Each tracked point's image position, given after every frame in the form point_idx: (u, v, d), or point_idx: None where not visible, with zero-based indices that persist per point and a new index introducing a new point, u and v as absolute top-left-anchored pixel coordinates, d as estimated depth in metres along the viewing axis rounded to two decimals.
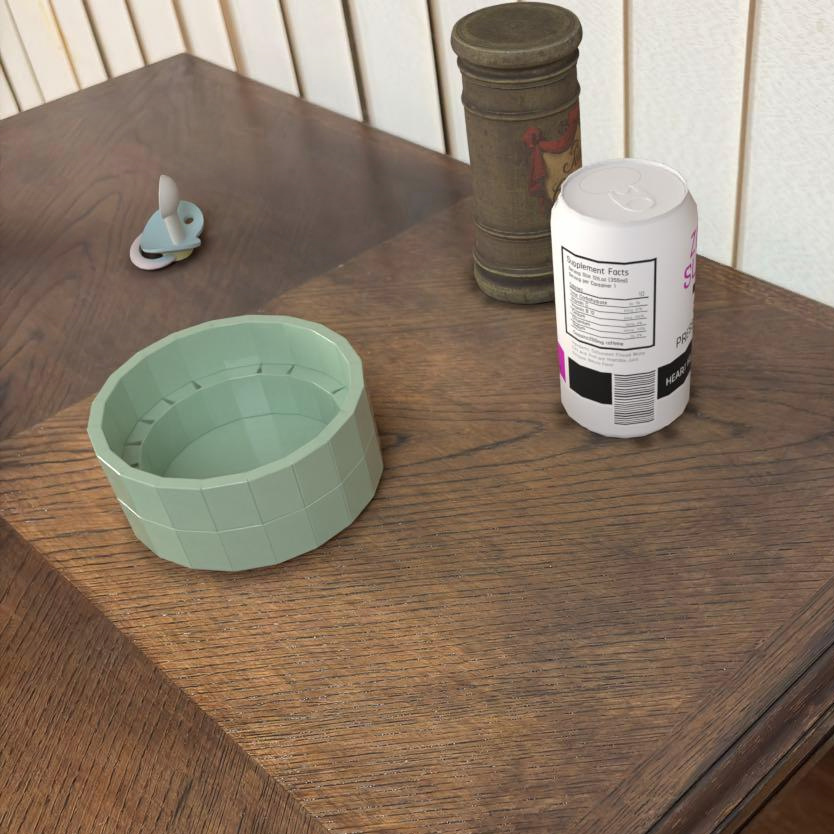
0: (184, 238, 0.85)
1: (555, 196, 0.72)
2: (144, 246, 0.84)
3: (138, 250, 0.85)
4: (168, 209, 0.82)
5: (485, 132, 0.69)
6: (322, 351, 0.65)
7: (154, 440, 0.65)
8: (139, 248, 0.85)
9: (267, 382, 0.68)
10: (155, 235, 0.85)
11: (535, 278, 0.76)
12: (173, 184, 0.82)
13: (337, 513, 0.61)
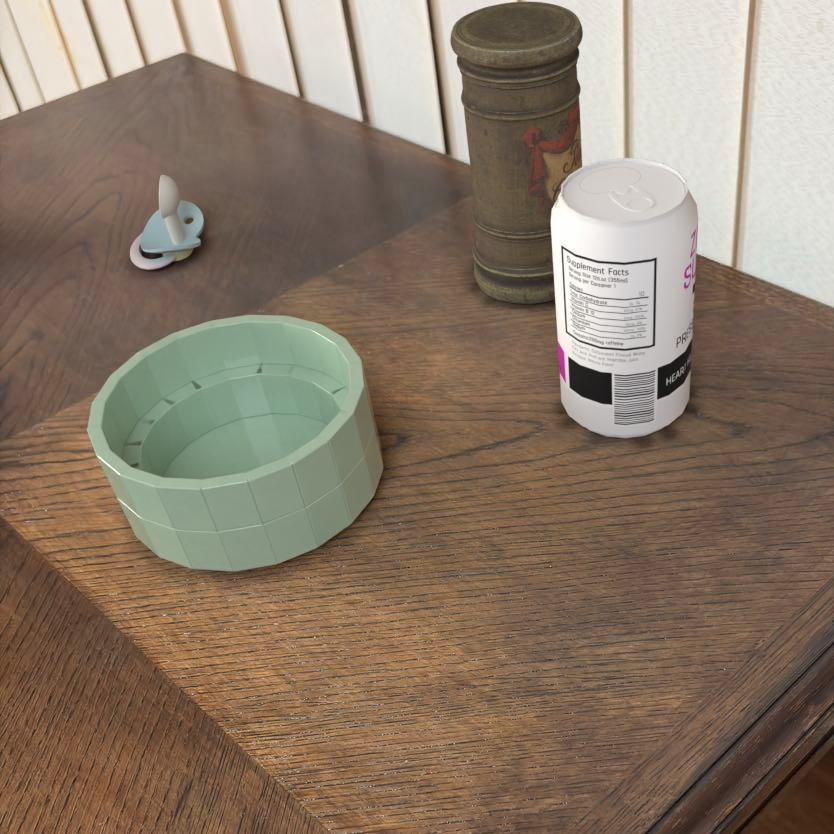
0: (184, 238, 0.85)
1: (555, 196, 0.72)
2: (144, 246, 0.84)
3: (138, 250, 0.85)
4: (168, 209, 0.82)
5: (485, 132, 0.69)
6: (322, 351, 0.65)
7: (154, 440, 0.65)
8: (139, 248, 0.85)
9: (267, 382, 0.68)
10: (155, 235, 0.85)
11: (535, 278, 0.76)
12: (173, 184, 0.82)
13: (337, 513, 0.61)
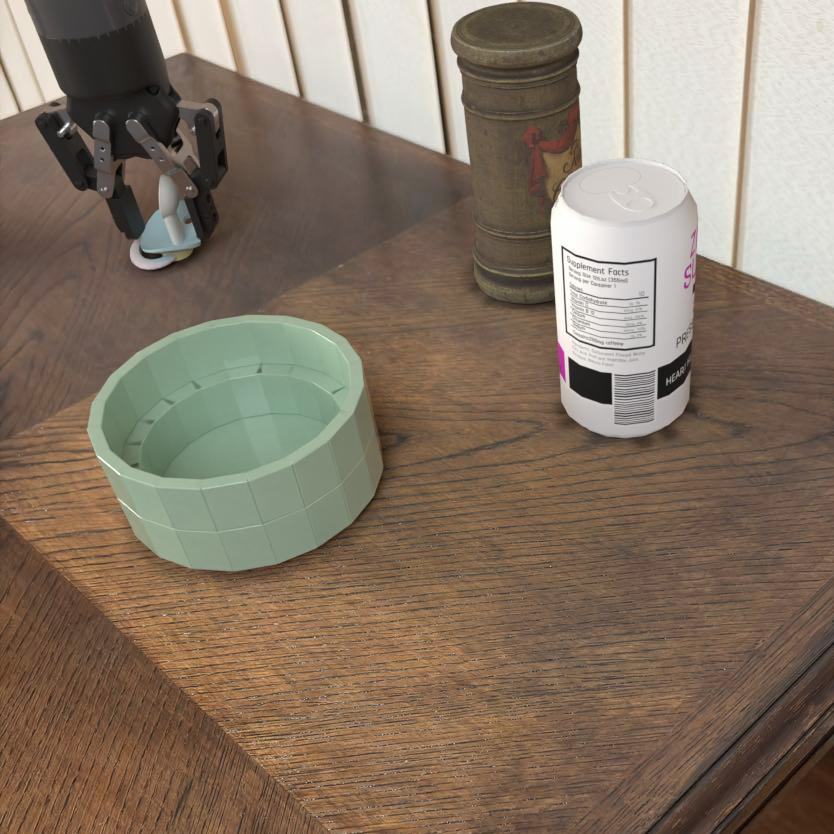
0: (184, 238, 0.85)
1: (555, 196, 0.72)
2: (144, 246, 0.84)
3: (138, 250, 0.85)
4: (168, 209, 0.82)
5: (485, 132, 0.69)
6: (322, 351, 0.65)
7: (154, 440, 0.65)
8: (139, 248, 0.85)
9: (267, 382, 0.68)
10: (155, 235, 0.85)
11: (535, 278, 0.76)
12: (173, 184, 0.82)
13: (337, 513, 0.61)
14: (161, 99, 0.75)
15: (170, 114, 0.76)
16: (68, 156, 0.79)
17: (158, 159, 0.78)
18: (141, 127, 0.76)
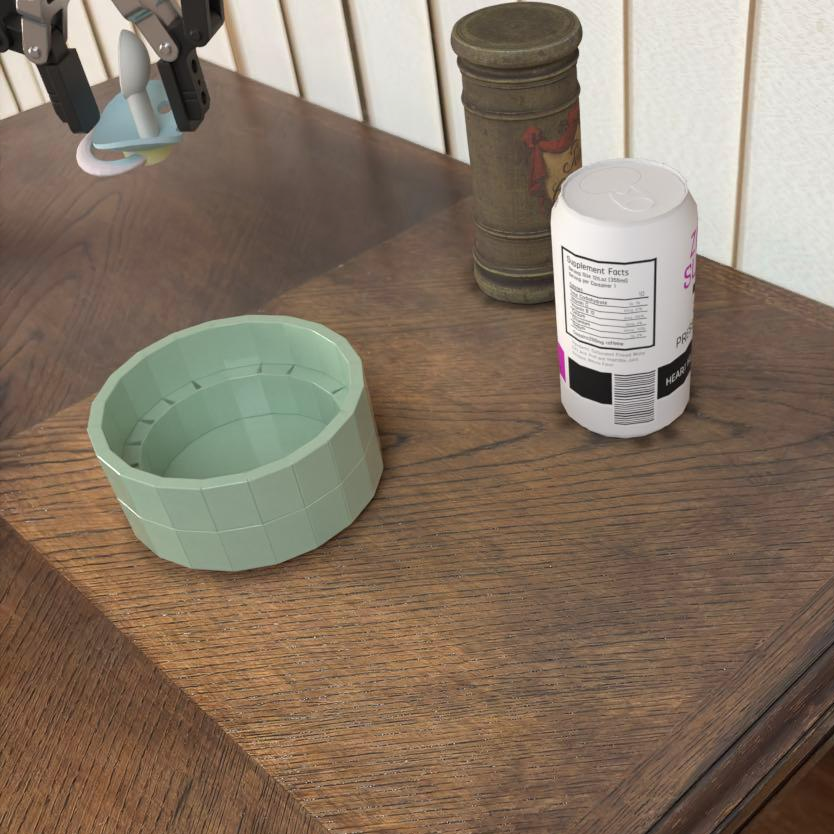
0: (158, 132, 0.57)
1: (555, 196, 0.72)
2: (97, 142, 0.56)
3: (89, 149, 0.57)
4: (133, 82, 0.54)
5: (485, 132, 0.69)
6: (322, 351, 0.65)
7: (154, 440, 0.65)
8: (90, 147, 0.57)
9: (267, 382, 0.68)
10: (115, 128, 0.57)
11: (535, 278, 0.76)
12: (140, 44, 0.54)
13: (337, 513, 0.61)
14: None
15: None
16: None
17: None
18: None
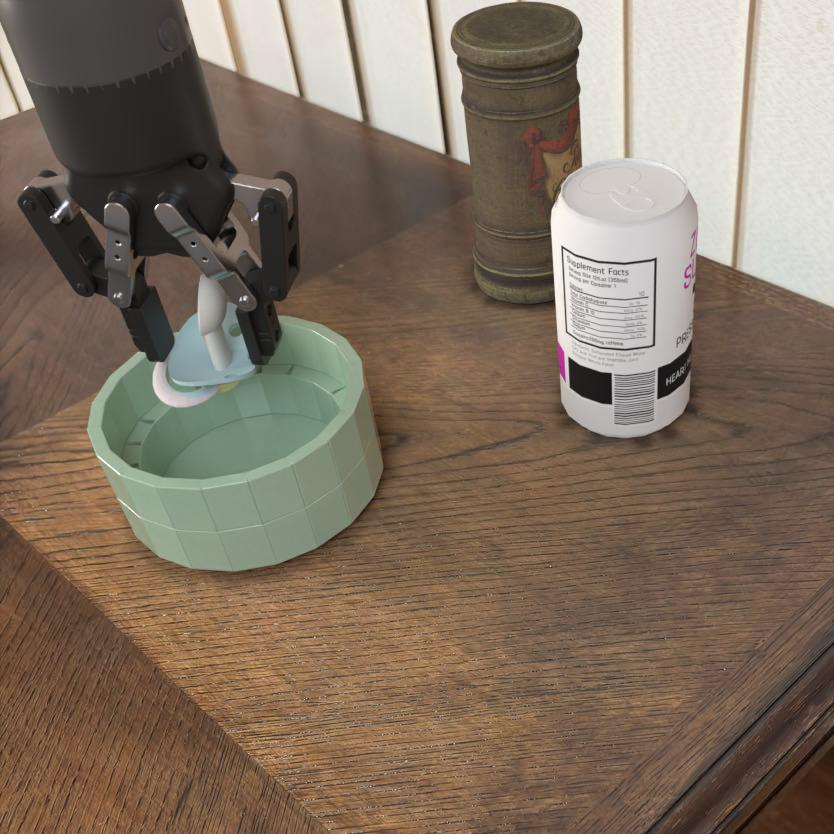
0: (231, 359, 0.59)
1: (555, 196, 0.72)
2: (174, 373, 0.58)
3: (165, 376, 0.59)
4: (211, 324, 0.56)
5: (485, 132, 0.69)
6: (322, 351, 0.65)
7: (154, 440, 0.65)
8: (166, 373, 0.59)
9: (267, 382, 0.68)
10: (189, 354, 0.60)
11: (535, 278, 0.76)
12: (219, 288, 0.56)
13: (337, 513, 0.61)
14: (209, 174, 0.50)
15: (222, 196, 0.51)
16: (66, 250, 0.54)
17: (202, 260, 0.52)
18: (178, 215, 0.51)
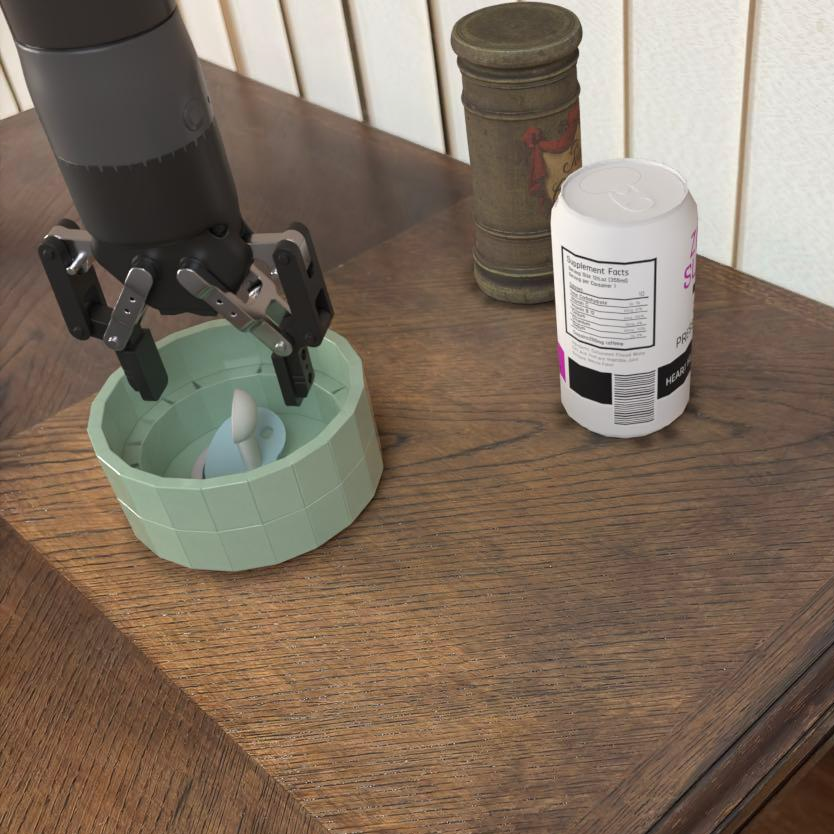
0: (261, 462, 0.65)
1: (555, 196, 0.72)
2: (210, 476, 0.64)
3: (201, 477, 0.65)
4: (243, 434, 0.62)
5: (485, 132, 0.69)
6: (322, 351, 0.65)
7: (154, 440, 0.65)
8: (202, 474, 0.65)
9: (267, 382, 0.68)
10: (223, 456, 0.65)
11: (535, 278, 0.76)
12: (251, 402, 0.62)
13: (337, 513, 0.61)
14: (229, 242, 0.52)
15: (241, 261, 0.53)
16: (74, 298, 0.56)
17: (231, 315, 0.55)
18: (199, 279, 0.53)
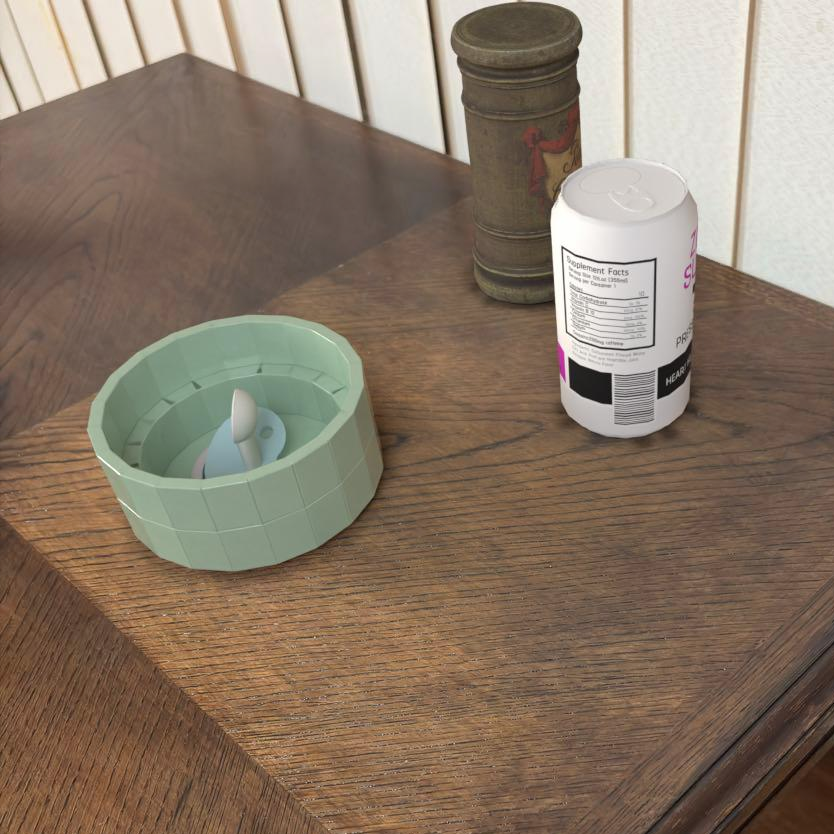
0: (261, 462, 0.65)
1: (555, 196, 0.72)
2: (210, 476, 0.64)
3: (201, 477, 0.65)
4: (243, 434, 0.62)
5: (485, 132, 0.69)
6: (322, 351, 0.65)
7: (154, 440, 0.65)
8: (202, 474, 0.65)
9: (267, 382, 0.68)
10: (223, 456, 0.65)
11: (535, 278, 0.76)
12: (251, 402, 0.62)
13: (337, 513, 0.61)
14: None
15: None
16: None
17: None
18: None
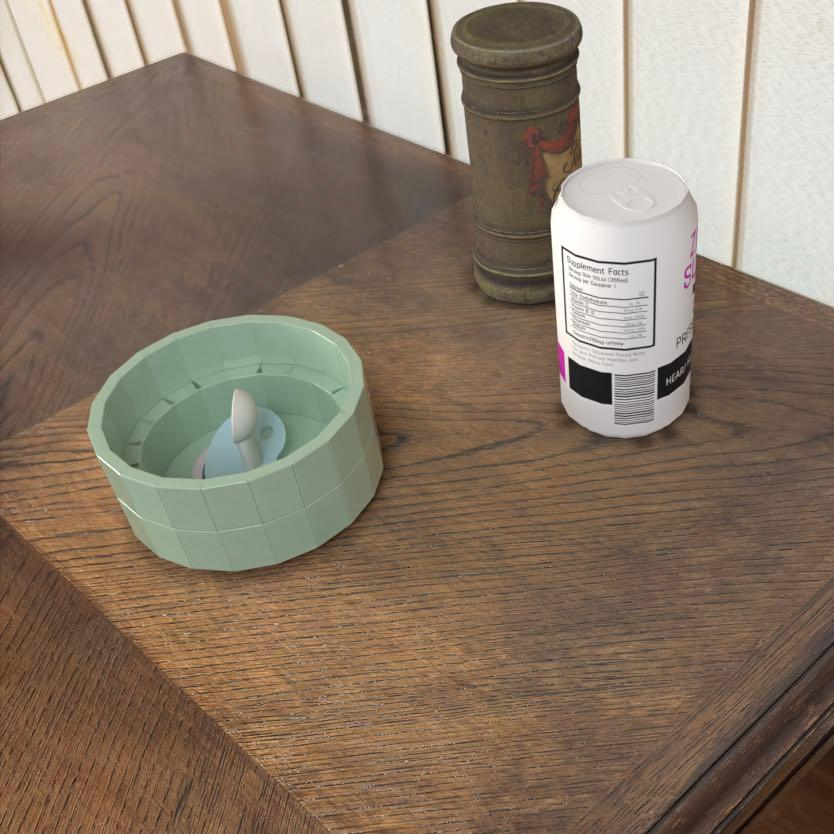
0: (261, 462, 0.65)
1: (555, 196, 0.72)
2: (210, 476, 0.64)
3: (201, 477, 0.65)
4: (243, 434, 0.62)
5: (485, 132, 0.69)
6: (322, 351, 0.65)
7: (154, 440, 0.65)
8: (202, 474, 0.65)
9: (267, 382, 0.68)
10: (223, 456, 0.65)
11: (535, 278, 0.76)
12: (251, 402, 0.62)
13: (337, 513, 0.61)
14: None
15: None
16: None
17: None
18: None
